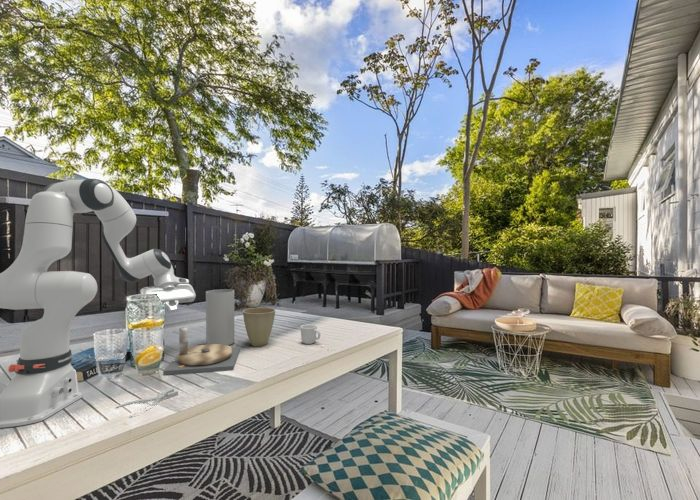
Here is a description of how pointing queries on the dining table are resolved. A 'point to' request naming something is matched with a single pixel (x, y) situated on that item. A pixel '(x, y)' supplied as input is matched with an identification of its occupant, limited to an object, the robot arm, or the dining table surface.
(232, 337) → the cylinder vase
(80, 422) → the dining table surface
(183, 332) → the dial
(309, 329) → the cup
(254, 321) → the plant pot
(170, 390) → the pliers
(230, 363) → the dial base
